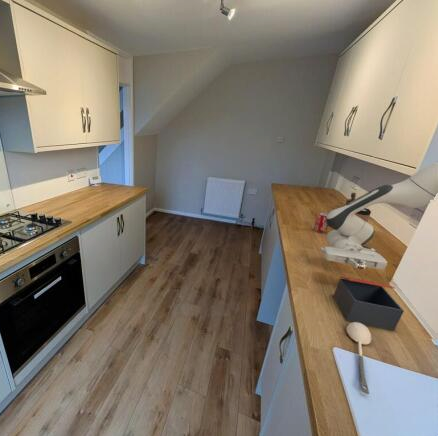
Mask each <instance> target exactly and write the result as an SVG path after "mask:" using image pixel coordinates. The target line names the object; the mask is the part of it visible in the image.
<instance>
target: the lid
mask: <svg viewBox="0 0 438 436" xmlns="http://www.w3.org/2000/svg"><path fill="white" fill-rule="evenodd" d="M340 278H342V279H347V280H350V281H356V282H361V283H366V284H372V285H377V286H382V287H383V288H388V289H389V288H390V289H393V290H394V289H395V287H394V286H391V285H388V284H384V283H379V282H374V281H368V280H364V279H363V280H362V279H359V278H358V279H357V278H353V277H347V276H341V275H340Z"/></svg>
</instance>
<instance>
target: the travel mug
mask: <svg viewBox="0 0 438 436" xmlns="http://www.w3.org/2000/svg"><path fill="white" fill-rule="evenodd" d="M371 213H372V210H370V209H369V208H368V207H367V208H365V209H363V210H361V211H359V212H357V213H355V215H356V216H358V217H359V218H361V219H362V220H364V221H366V222H368V221H369V219H370V216H371ZM368 223H369V222H368Z"/></svg>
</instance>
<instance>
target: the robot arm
mask: <svg viewBox="0 0 438 436" xmlns="http://www.w3.org/2000/svg"><path fill="white" fill-rule="evenodd" d="M437 193H438V161H436V162H433V163H432V164H430V165H428V166H426V167H424V168H422V169H420V170H419V171H417V172H415V173H414V174H412V175H411V176H409V177H408V178H406V179H404V180H402V181H400V182H397V183H394V184H383V185H381V186H380V185H379V186H378V187H376V188H374V189H372V190H369V191H368V192H366V193H364V194H362V195H360V196H359V197H357V198H355V200H353V201H351V202H349V203H347V204H346V203H345V204H344V205H341V206H338V207H336V208H333V209H332V210H331V211H329V212H327V216H326V223H327V226H328V227H329V228H331V229H332V230H330V231H329V232H328V233H327V234H326V239H325V241H326V244H327V245H328V246H323V247H320V248H319V250H320V251H321V252H322V257H323V259H324V260H326V261H329V262H335V263H341V264H346V265H349V266H351V267H353V268H354V269H358V270H362V271H365V270H366V268H370V269H376V270H381V271H384V270H385V269H386V267H387V265H388V261H387V259H385V258H384V256H382V254H380V253H378V252H376V249H374V248H372V247H369V246H365V245H366V244H368V243H369V242H370V241H371V240H372V239H373V238H374V235H375V227H374V225H372V224H371V223H369V222H366V221H364V220H362V219H361V218H359V217H358V216H356V215H355V213H357V212H359V211H361V210H363V209H365V208H367V209H368V208H369V207H371V206H373V205H376V204H387V205H388V204H389V205H393V206H398V207H402V208H408V209H410V208H413V209H415V208H422V207H425V206H427V205H429V204H431V203H430V200H431V199H433V197H435V196H436V194H437Z"/></svg>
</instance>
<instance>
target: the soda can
mask: <svg viewBox="0 0 438 436" xmlns="http://www.w3.org/2000/svg"><path fill="white" fill-rule="evenodd" d="M327 214H328V212H327V213H326V212H319V213H318V214H317V216H316V218H315V221H314V226H313V230H314V231H315V232H317V233H321V234H324V233H326V232H327V230H328V227H329V226H327V223H326V216H327Z"/></svg>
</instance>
